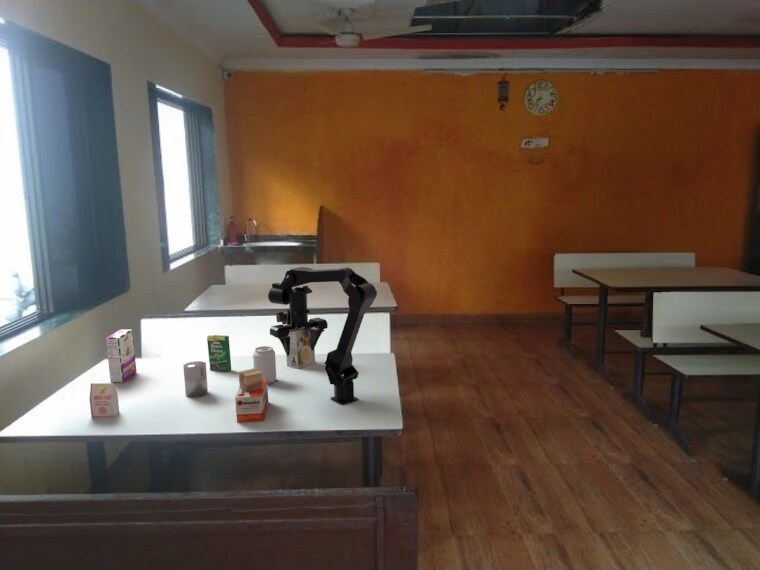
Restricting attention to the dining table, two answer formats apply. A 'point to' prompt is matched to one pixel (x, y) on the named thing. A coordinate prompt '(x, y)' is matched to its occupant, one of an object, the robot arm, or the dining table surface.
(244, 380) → the light brown wooden cube
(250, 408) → the medicine box
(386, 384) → the dining table surface
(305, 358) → the coffee box
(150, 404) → the dining table surface
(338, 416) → the dining table surface
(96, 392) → the white paper food packet
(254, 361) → the can
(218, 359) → the coffee box
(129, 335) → the candy bar box
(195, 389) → the grey metal cylinder
